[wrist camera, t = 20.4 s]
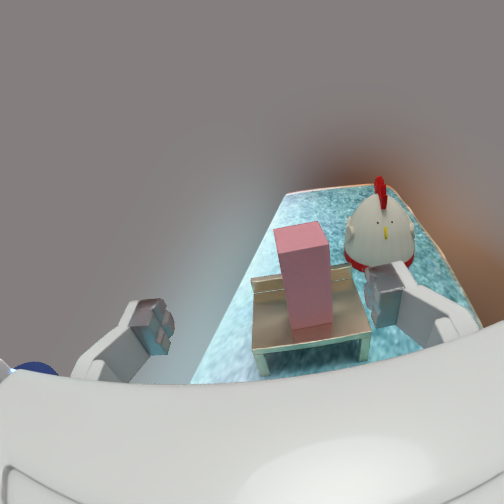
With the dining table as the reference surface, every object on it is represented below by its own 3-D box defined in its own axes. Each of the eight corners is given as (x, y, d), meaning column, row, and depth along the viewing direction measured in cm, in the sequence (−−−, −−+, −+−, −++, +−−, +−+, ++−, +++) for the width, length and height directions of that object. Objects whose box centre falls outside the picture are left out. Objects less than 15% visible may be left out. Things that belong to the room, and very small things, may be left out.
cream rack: (261, 376, 35) (247, 339, 31) (261, 317, 44) (250, 278, 40) (367, 360, 33) (373, 319, 29) (350, 303, 42) (350, 262, 38)
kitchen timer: (346, 277, 48) (342, 196, 40) (342, 235, 59) (337, 167, 51) (421, 272, 44) (430, 192, 36) (405, 232, 55) (407, 164, 47)
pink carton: (291, 330, 33) (277, 253, 27) (286, 302, 37) (273, 229, 31) (332, 322, 32) (329, 243, 27) (324, 295, 37) (317, 220, 31)
